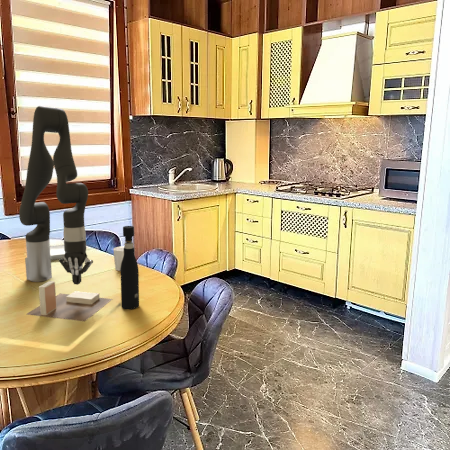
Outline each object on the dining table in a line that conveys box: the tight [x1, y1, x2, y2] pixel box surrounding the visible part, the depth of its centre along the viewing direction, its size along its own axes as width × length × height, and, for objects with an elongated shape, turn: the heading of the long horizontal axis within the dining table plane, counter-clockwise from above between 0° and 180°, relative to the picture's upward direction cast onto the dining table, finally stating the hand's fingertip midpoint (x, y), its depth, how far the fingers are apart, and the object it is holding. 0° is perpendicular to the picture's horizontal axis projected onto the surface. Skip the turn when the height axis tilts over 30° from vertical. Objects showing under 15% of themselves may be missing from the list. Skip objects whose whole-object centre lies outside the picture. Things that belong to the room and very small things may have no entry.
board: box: [26, 293, 113, 322], centre depth 148 cm, size 22×20×1 cm
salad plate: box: [50, 244, 65, 261], centre depth 215 cm, size 21×21×3 cm
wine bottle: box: [119, 225, 140, 311], centre depth 149 cm, size 6×6×30 cm
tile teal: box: [66, 290, 101, 304], centre depth 154 cm, size 2×6×10 cm
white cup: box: [113, 245, 125, 272], centre depth 194 cm, size 8×8×10 cm
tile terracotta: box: [38, 280, 57, 315], centre depth 142 cm, size 2×6×10 cm, turn 168°
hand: (77, 283), depth 153 cm, fingers closed
